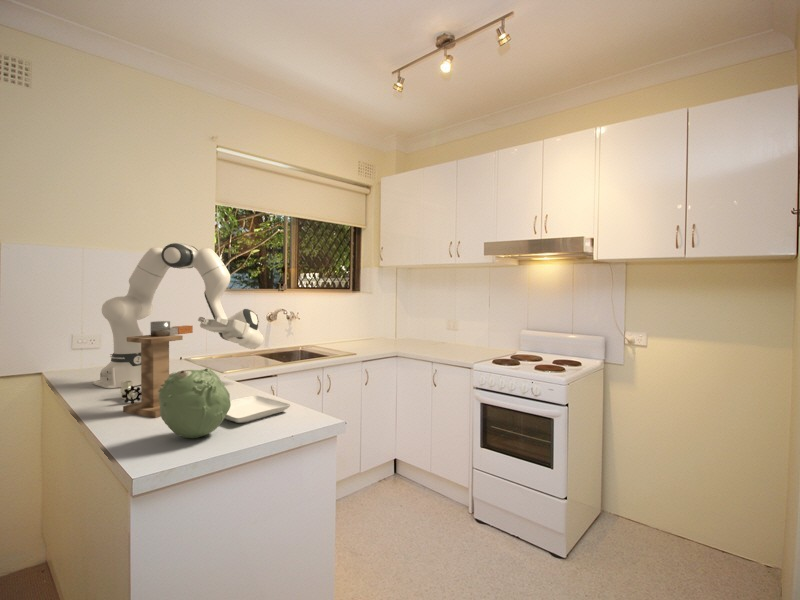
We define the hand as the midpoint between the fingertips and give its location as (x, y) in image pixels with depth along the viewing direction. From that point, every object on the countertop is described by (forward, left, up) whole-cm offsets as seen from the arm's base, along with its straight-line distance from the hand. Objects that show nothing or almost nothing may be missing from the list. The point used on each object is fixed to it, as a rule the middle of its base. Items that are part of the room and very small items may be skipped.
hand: (207, 318), depth 164 cm
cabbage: (+34, -36, -31) cm, 58 cm away
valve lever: (0, -16, -5) cm, 16 cm away
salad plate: (+32, -13, -31) cm, 47 cm away
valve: (-20, -18, -31) cm, 41 cm away
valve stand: (0, -23, -31) cm, 38 cm away
